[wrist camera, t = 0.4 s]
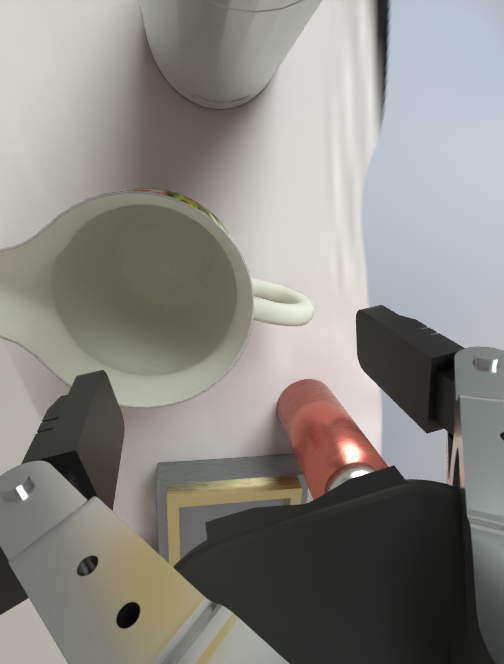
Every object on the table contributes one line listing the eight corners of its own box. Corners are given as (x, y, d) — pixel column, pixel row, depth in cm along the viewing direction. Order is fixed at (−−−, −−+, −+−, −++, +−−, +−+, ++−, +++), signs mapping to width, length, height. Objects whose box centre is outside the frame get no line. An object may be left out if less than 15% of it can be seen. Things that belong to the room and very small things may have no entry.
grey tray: (158, 462, 35) (154, 495, 31) (300, 453, 37) (313, 482, 33) (163, 585, 40) (160, 627, 36) (288, 571, 42) (298, 608, 38)
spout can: (279, 380, 34) (340, 499, 20) (336, 378, 35) (432, 491, 21) (275, 432, 36) (329, 574, 22) (329, 429, 37) (414, 563, 23)
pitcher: (270, 344, 33) (322, 432, 20) (52, 319, 29) (-54, 407, 16) (296, 218, 30) (377, 227, 17) (55, 172, 26) (-74, 139, 13)
